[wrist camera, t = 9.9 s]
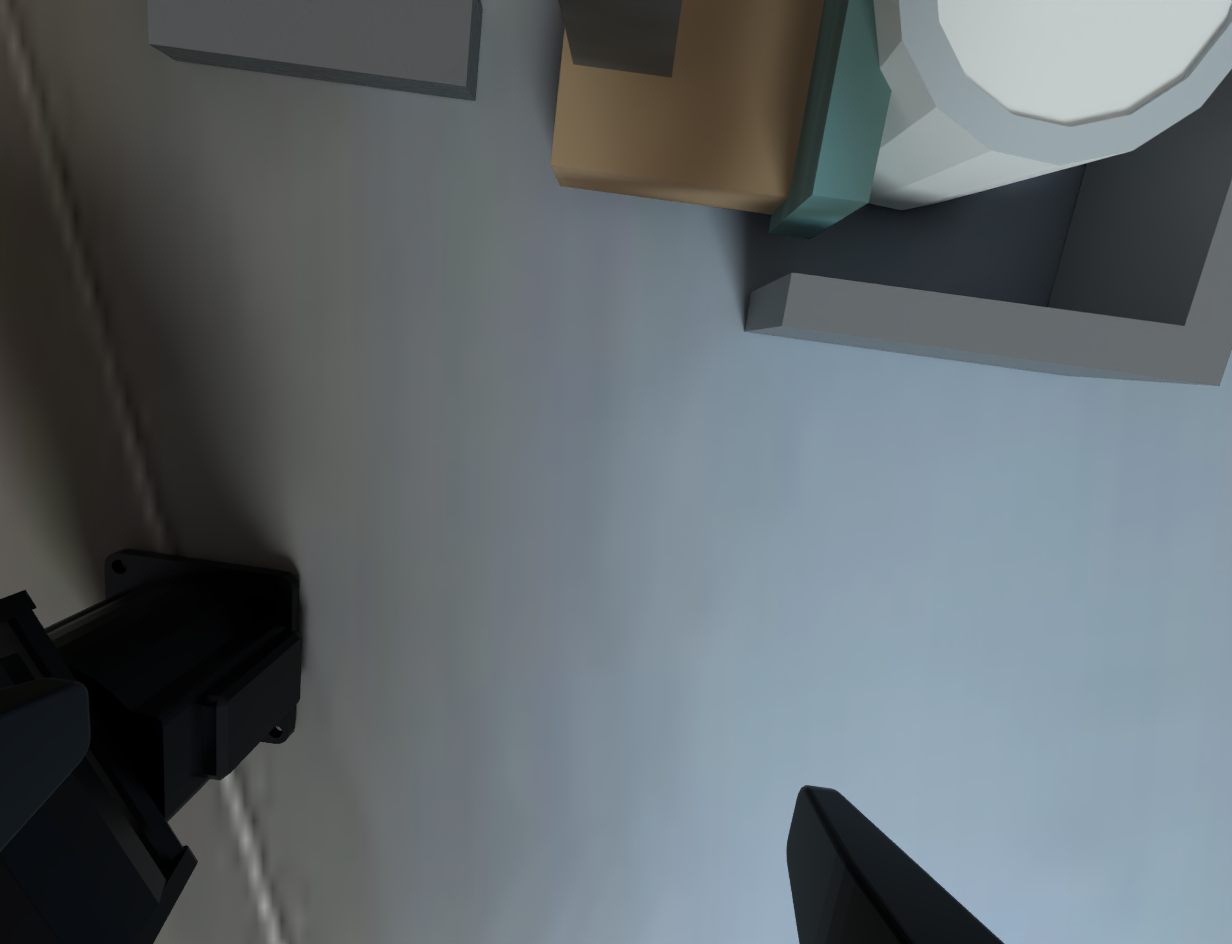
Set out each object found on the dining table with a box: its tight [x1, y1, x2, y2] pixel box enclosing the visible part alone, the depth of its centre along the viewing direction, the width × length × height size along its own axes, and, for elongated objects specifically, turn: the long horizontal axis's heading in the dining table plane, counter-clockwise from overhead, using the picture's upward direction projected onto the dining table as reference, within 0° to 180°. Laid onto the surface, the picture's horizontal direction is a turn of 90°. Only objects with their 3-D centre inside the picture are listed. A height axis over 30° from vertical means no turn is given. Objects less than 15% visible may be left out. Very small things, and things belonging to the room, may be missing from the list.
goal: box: [744, 69, 1232, 386], centre depth 15 cm, size 10×13×5 cm
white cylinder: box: [869, 0, 1232, 210], centre depth 14 cm, size 7×7×7 cm
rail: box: [147, 0, 482, 101], centre depth 17 cm, size 9×2×1 cm, turn 82°
